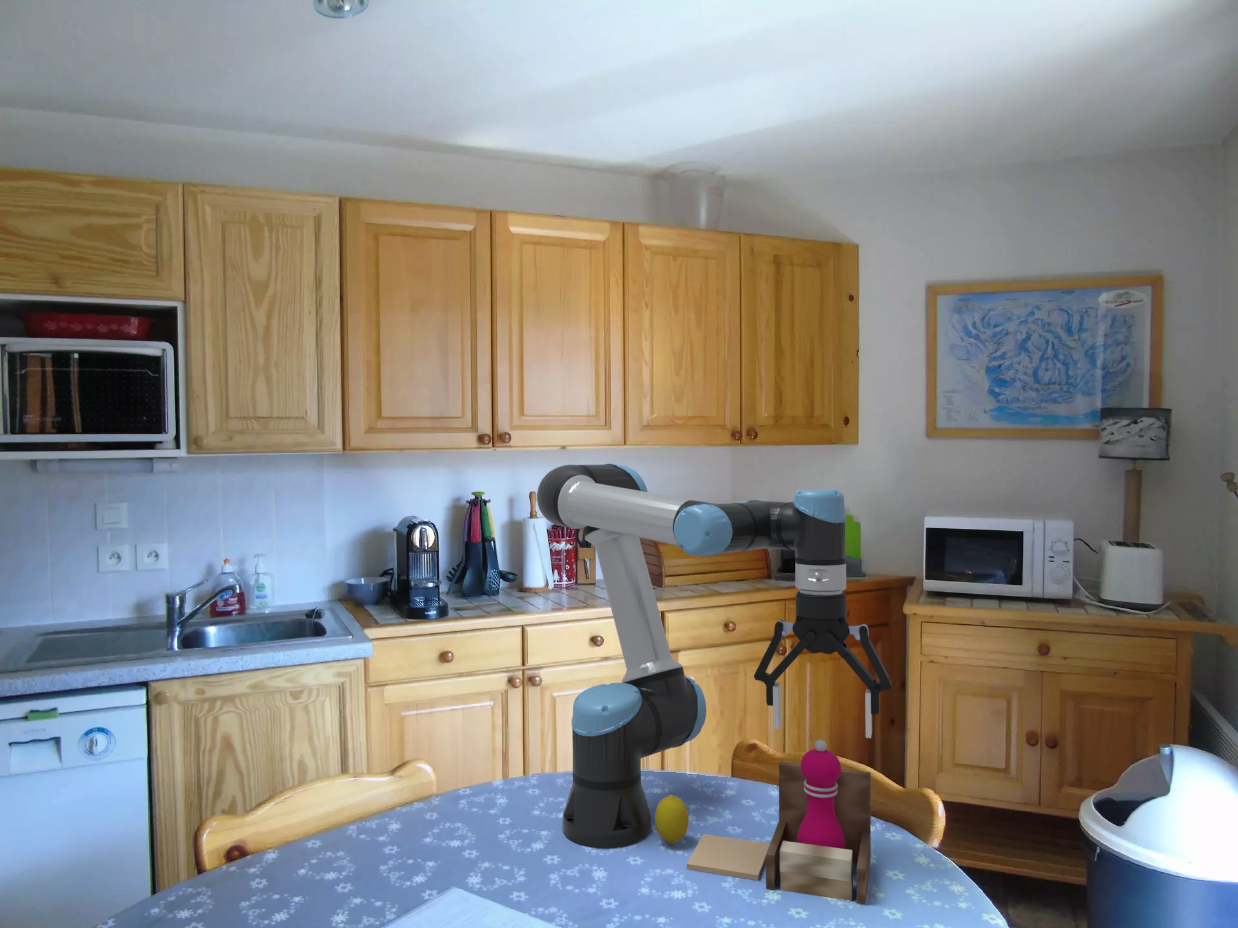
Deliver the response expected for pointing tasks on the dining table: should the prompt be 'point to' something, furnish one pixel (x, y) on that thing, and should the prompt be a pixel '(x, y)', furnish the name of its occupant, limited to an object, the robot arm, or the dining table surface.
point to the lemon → (671, 819)
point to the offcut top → (816, 861)
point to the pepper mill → (821, 798)
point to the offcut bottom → (817, 886)
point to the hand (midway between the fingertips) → (822, 731)
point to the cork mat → (729, 857)
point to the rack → (849, 811)
